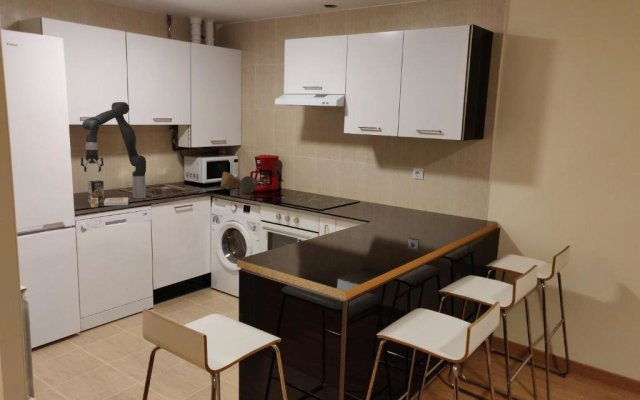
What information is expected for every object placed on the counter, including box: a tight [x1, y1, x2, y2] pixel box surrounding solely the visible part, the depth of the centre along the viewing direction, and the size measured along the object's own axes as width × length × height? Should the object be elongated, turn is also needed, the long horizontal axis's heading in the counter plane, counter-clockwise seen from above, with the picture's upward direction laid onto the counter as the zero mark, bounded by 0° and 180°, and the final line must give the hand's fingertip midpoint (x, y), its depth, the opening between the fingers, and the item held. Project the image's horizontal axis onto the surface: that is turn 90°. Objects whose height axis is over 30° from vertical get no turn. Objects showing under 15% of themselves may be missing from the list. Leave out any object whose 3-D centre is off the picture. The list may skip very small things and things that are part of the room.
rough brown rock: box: [220, 171, 241, 190], centre depth 439 cm, size 23×17×15 cm
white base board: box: [103, 196, 129, 206], centre depth 357 cm, size 16×16×3 cm
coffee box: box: [87, 179, 105, 204], centre depth 355 cm, size 9×6×16 cm
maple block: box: [90, 198, 99, 208], centre depth 343 cm, size 4×4×6 cm
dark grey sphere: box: [239, 175, 258, 195], centre depth 413 cm, size 14×14×15 cm
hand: (92, 172), depth 339 cm, fingers open, 8 cm apart
